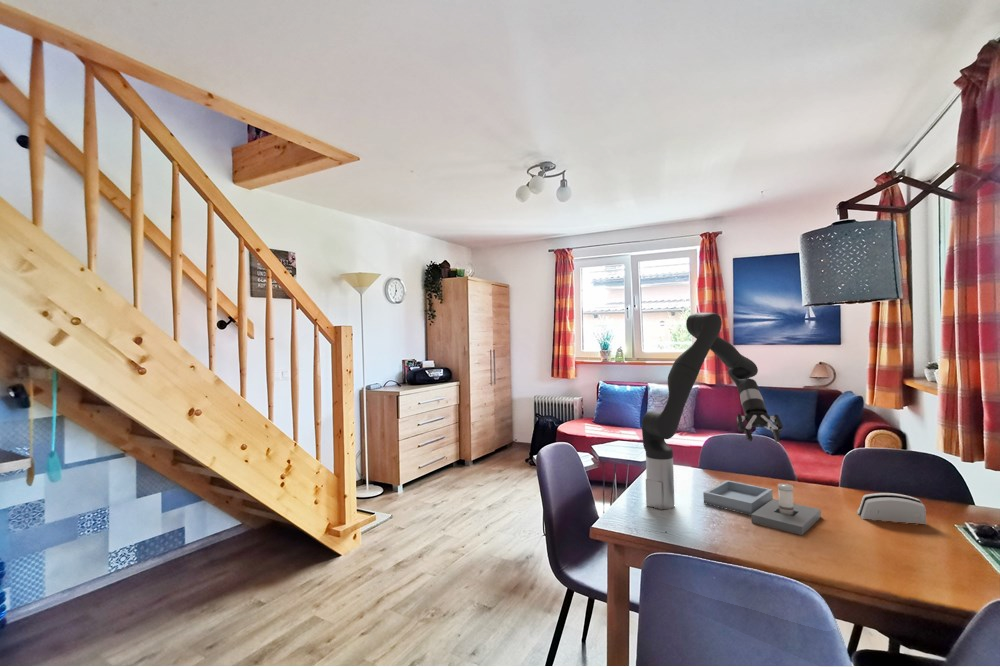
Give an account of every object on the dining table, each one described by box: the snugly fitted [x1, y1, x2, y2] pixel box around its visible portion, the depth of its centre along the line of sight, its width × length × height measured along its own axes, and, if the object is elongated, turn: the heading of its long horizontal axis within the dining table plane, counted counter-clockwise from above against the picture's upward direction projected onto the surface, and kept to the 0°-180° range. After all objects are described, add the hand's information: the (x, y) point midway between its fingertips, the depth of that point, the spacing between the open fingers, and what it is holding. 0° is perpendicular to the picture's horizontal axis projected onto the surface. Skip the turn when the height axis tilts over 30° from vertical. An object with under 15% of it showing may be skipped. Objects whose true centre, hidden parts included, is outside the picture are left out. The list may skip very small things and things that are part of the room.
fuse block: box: [750, 498, 822, 536], centre depth 147 cm, size 20×14×2 cm
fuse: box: [777, 483, 794, 516], centre depth 148 cm, size 4×4×11 cm
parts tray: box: [702, 479, 774, 516], centre depth 164 cm, size 20×16×4 cm
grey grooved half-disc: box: [856, 492, 927, 525], centre depth 145 cm, size 17×5×10 cm, turn 70°
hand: (764, 440), depth 163 cm, fingers open, 8 cm apart
